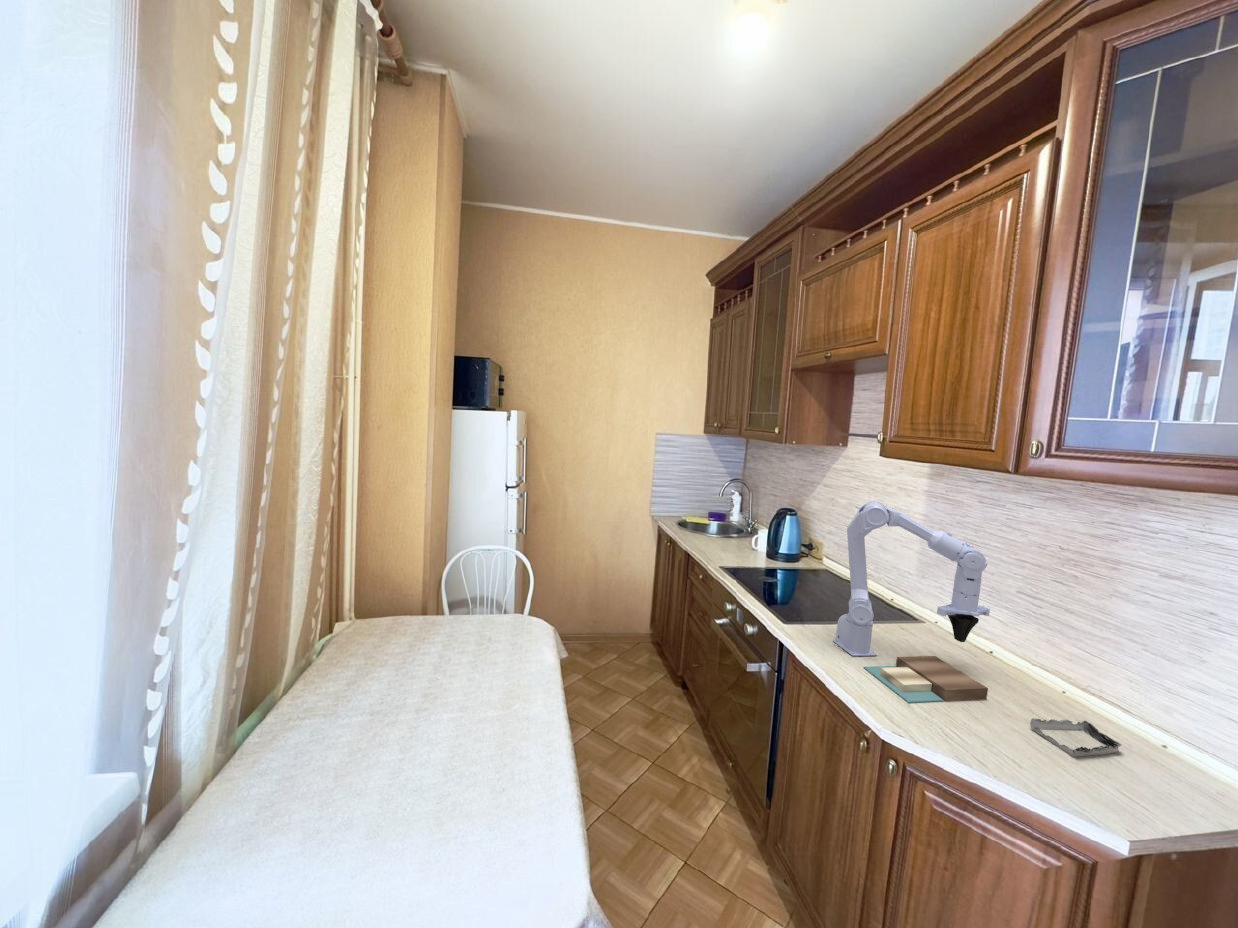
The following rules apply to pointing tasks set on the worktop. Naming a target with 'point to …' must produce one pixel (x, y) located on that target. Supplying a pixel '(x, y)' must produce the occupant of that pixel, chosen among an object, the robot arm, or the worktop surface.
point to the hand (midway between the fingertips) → (959, 640)
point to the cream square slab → (906, 679)
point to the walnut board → (944, 678)
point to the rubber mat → (907, 696)
